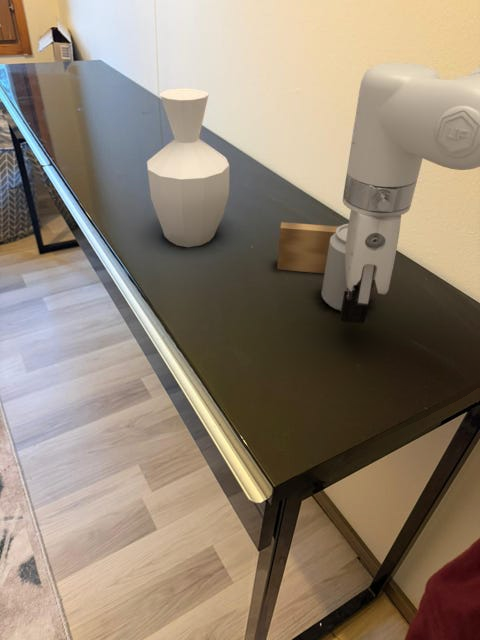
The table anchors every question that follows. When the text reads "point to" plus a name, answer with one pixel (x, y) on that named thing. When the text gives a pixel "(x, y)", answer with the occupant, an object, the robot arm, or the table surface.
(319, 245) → the wooden board
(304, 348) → the table surface
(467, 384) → the table surface
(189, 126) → the vase
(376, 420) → the table surface
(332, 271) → the can
